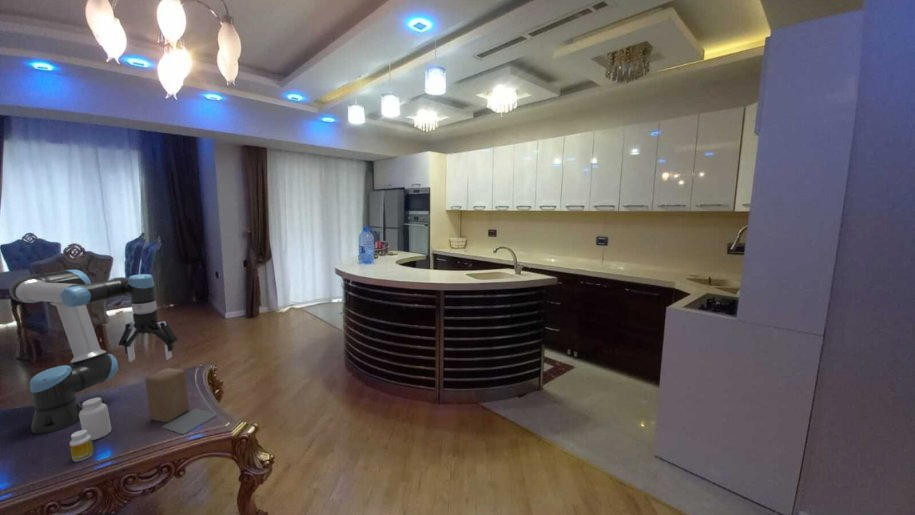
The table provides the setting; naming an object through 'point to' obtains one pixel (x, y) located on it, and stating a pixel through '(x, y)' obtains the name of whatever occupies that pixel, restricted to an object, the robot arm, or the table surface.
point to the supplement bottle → (81, 445)
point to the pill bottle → (95, 418)
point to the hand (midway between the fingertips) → (150, 359)
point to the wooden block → (167, 394)
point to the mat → (189, 421)
